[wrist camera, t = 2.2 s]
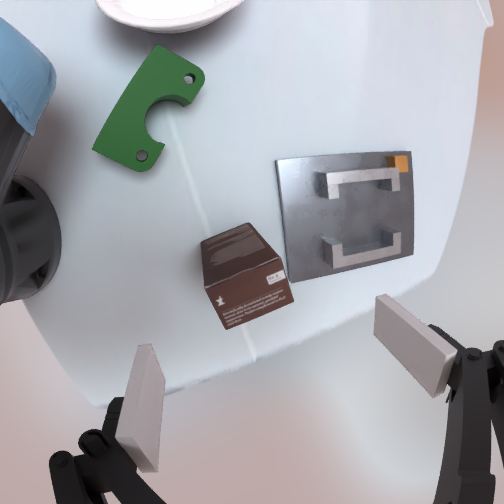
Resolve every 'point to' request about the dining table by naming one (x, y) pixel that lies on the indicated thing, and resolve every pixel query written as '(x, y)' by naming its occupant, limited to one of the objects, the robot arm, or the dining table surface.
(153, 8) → the bowl
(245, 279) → the box
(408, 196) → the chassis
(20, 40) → the robot arm
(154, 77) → the clamp
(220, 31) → the dining table surface
